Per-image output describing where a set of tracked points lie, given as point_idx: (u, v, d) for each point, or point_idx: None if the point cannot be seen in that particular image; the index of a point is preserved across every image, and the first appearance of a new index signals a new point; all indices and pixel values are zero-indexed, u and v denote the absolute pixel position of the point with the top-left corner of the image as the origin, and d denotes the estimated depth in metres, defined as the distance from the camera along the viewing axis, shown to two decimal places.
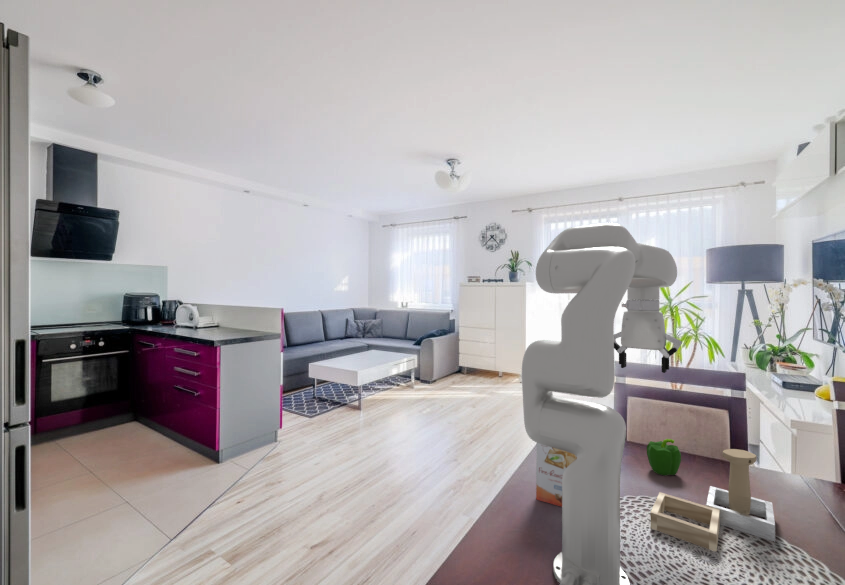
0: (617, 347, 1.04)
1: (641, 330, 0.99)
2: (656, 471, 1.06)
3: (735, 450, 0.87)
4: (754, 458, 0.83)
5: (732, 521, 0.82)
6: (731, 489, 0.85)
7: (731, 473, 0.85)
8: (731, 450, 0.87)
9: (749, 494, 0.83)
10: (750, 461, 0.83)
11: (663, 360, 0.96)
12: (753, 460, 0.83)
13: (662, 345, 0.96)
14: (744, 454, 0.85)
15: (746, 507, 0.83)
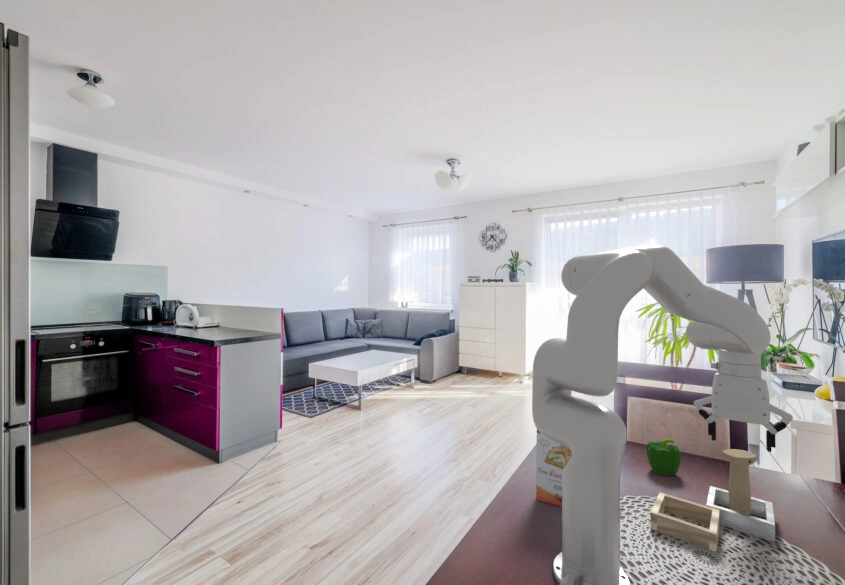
0: (706, 415, 0.89)
1: (740, 399, 0.83)
2: (656, 471, 1.06)
3: (735, 450, 0.87)
4: (754, 458, 0.83)
5: (732, 521, 0.82)
6: (731, 489, 0.85)
7: (731, 473, 0.85)
8: (731, 450, 0.87)
9: (749, 494, 0.83)
10: (750, 461, 0.83)
11: (769, 437, 0.81)
12: (753, 460, 0.83)
13: (768, 419, 0.81)
14: (744, 454, 0.85)
15: (746, 507, 0.83)
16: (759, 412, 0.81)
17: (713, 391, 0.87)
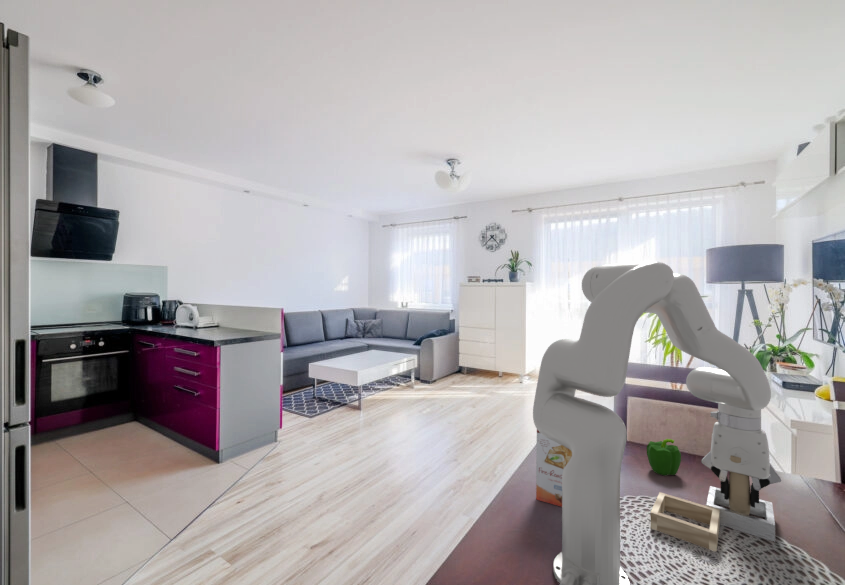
0: (716, 474, 0.87)
1: (739, 452, 0.83)
2: (656, 471, 1.06)
3: None
4: None
5: (732, 521, 0.82)
6: (731, 489, 0.85)
7: (731, 473, 0.85)
8: None
9: (749, 494, 0.83)
10: None
11: (753, 493, 0.82)
12: None
13: (768, 474, 0.80)
14: None
15: (746, 507, 0.83)
16: (759, 466, 0.81)
17: (713, 441, 0.87)
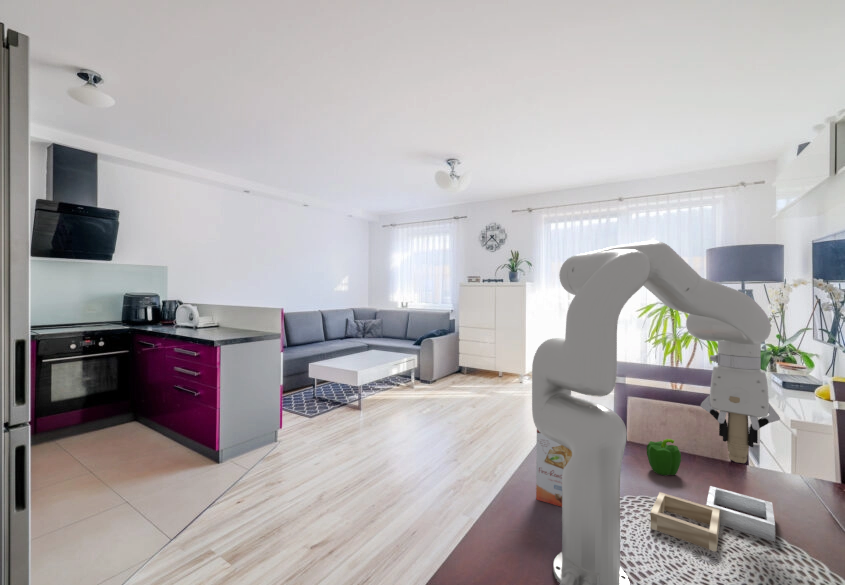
0: (715, 417, 0.87)
1: (738, 392, 0.83)
2: (656, 471, 1.06)
3: None
4: None
5: (732, 521, 0.82)
6: (730, 430, 0.85)
7: (730, 415, 0.85)
8: None
9: (748, 435, 0.83)
10: None
11: (751, 432, 0.82)
12: None
13: (767, 412, 0.80)
14: None
15: (744, 447, 0.83)
16: (757, 404, 0.81)
17: (712, 383, 0.87)
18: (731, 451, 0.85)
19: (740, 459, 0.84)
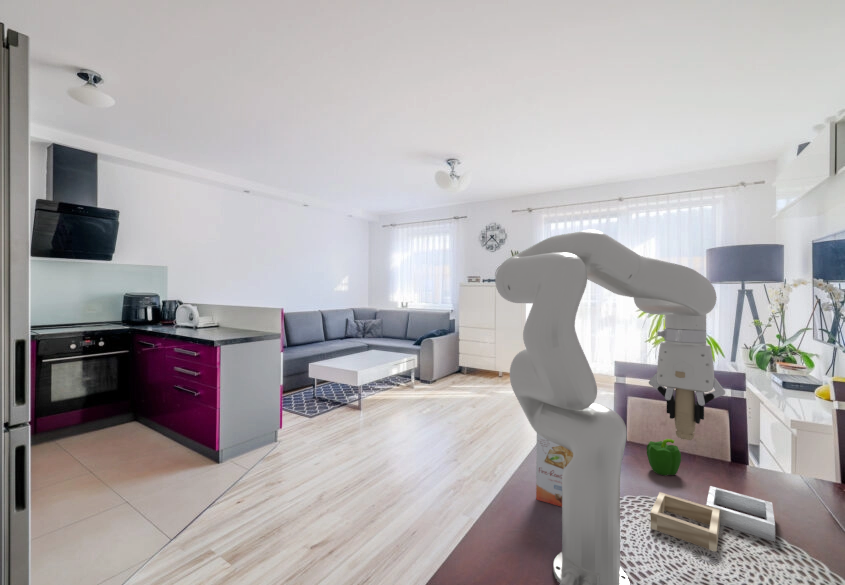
0: (662, 394, 0.84)
1: (684, 366, 0.80)
2: (656, 471, 1.06)
3: None
4: None
5: (732, 521, 0.82)
6: (676, 407, 0.82)
7: (676, 391, 0.82)
8: None
9: (694, 410, 0.81)
10: None
11: (697, 408, 0.79)
12: None
13: (711, 386, 0.77)
14: None
15: (691, 424, 0.80)
16: (702, 379, 0.78)
17: (658, 359, 0.84)
18: (678, 428, 0.82)
19: (686, 436, 0.81)
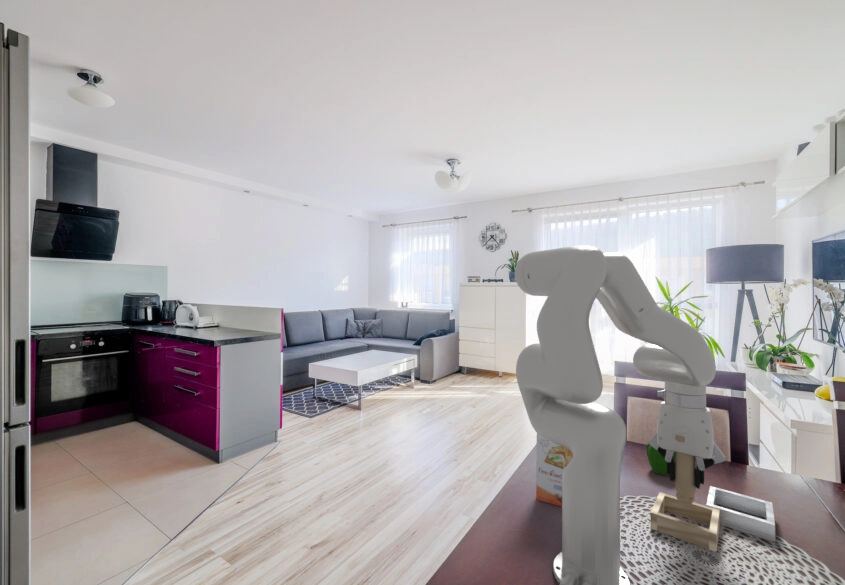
0: (662, 455, 0.84)
1: (683, 431, 0.80)
2: (656, 471, 1.06)
3: None
4: None
5: (732, 521, 0.82)
6: (676, 470, 0.82)
7: (677, 453, 0.82)
8: None
9: (694, 474, 0.80)
10: None
11: (697, 473, 0.79)
12: None
13: (711, 453, 0.77)
14: None
15: (691, 488, 0.80)
16: (702, 445, 0.78)
17: (658, 421, 0.84)
18: (678, 491, 0.82)
19: (687, 500, 0.81)
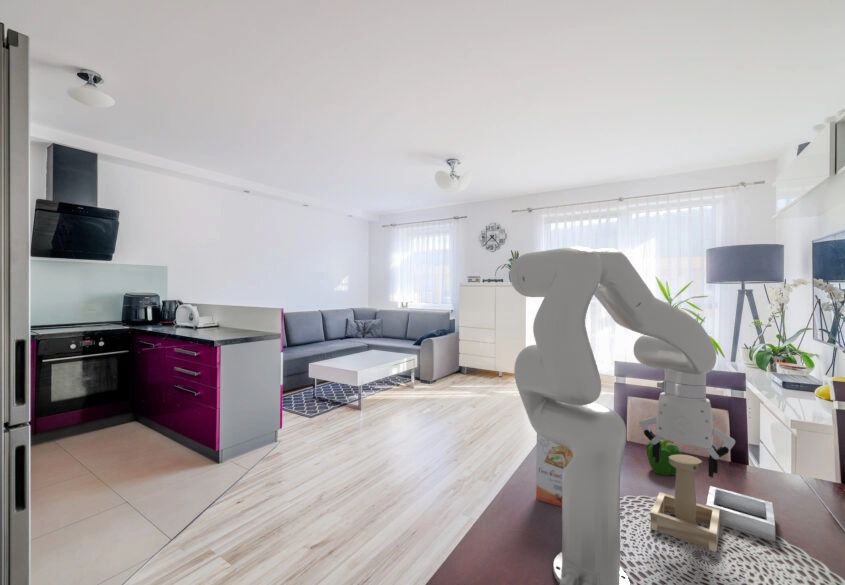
0: (650, 436, 0.85)
1: (683, 421, 0.80)
2: (656, 471, 1.06)
3: (682, 456, 0.84)
4: (699, 464, 0.80)
5: (732, 521, 0.82)
6: (677, 496, 0.82)
7: (677, 480, 0.82)
8: (678, 455, 0.84)
9: (694, 502, 0.80)
10: (695, 467, 0.80)
11: (711, 462, 0.77)
12: (698, 466, 0.80)
13: (710, 443, 0.77)
14: (690, 460, 0.81)
15: (691, 515, 0.80)
16: (701, 435, 0.78)
17: (658, 411, 0.83)
18: (678, 518, 0.82)
19: None
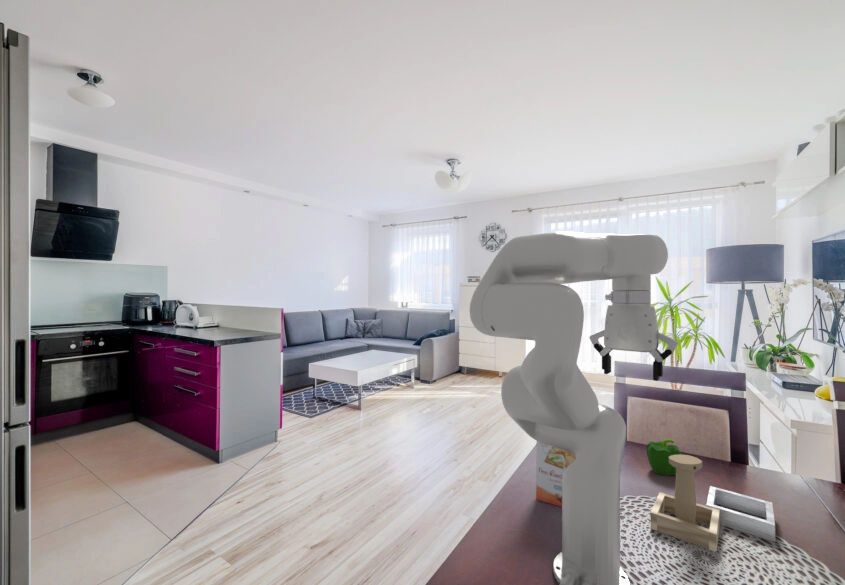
0: (600, 349, 0.86)
1: (628, 328, 0.80)
2: (656, 471, 1.06)
3: (682, 456, 0.84)
4: (699, 464, 0.80)
5: (732, 521, 0.82)
6: (677, 496, 0.82)
7: (677, 480, 0.82)
8: (678, 455, 0.84)
9: (694, 502, 0.80)
10: (695, 467, 0.80)
11: (655, 365, 0.78)
12: (698, 466, 0.80)
13: (654, 346, 0.77)
14: (690, 460, 0.81)
15: (691, 515, 0.80)
16: (645, 339, 0.78)
17: (605, 322, 0.84)
18: (678, 518, 0.82)
19: None
